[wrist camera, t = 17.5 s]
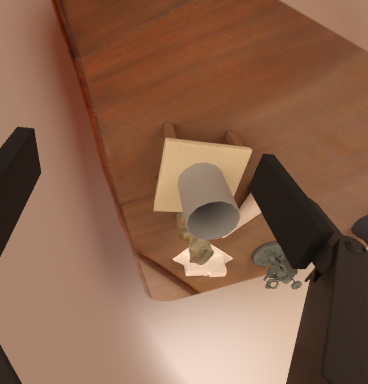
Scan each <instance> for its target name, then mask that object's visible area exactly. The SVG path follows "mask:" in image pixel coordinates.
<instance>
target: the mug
mask: <svg viewBox="0 0 368 384" xmlns="http://www.w3.org/2000/svg"><path fill="white" fill-rule="evenodd" d="M352 232H353V234H355V235H356V236H357V237H359V238H361V239H363V240H364V241H365V242H366V243H367V245H368V215H367V216H365V217H363V218H361V219H360V220H358V221H357V222H356V223H355V224H354V226H353V228H352Z"/></svg>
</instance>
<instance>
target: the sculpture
mask: <svg viewBox="0 0 368 384" xmlns="http://www.w3.org/2000/svg"><path fill="white" fill-rule="evenodd" d="M176 225H177V229H178V231H179V238H180V239H182V240H184V241H186V242H188V244H189V246H188V249H189V253H190V261H189V262H190V263H196V264H198V265H203V264H205V263H206V262H207V261H208V260H209V259H210V258H211V257H212V256H213V254H214V250H213V249H212V248H211V245H210V242H209V240H203V239H198V238H195V237H194V236H192V235H191V234H189V233H188V230H187V227H186V224H185V219H184V214H183V212H180V213H178V214H177V223H176Z"/></svg>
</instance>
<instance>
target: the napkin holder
mask: <svg viewBox="0 0 368 384" xmlns="http://www.w3.org/2000/svg"><path fill="white" fill-rule="evenodd" d="M210 245H211V248H212V249H213V250H214V254H213V256H212V257H211V258H210V259H209V260H208V261H207V262H206V263H205V264H203V265H198V264H196V263H190V262H189V261H190V253H189V249H188V248H187V249H186V250H184V251H183V252H182V253H180V254H179V255H178V256H176V257H175V258H173V260H175V261H177V262H178V263H180V264H182V265H184V268H185V274H186V276H196V275H204V276H207V275H209V277H220V276H225V275H226V273H227V270H226V266H225V263H227V262H228V261H230V260H232V259H233V258H232V257H231V256H229V255H228V254H226V253H224V252H223V251H221V250H220V249H218V248H216V247H215V246H213V245H212V244H210Z"/></svg>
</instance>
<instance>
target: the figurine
mask: <svg viewBox="0 0 368 384" xmlns="http://www.w3.org/2000/svg"><path fill="white" fill-rule="evenodd" d="M284 258H285V255H284V253H283V251H282V249H281V247H280V246H279V244H278V242H270V243H266V244H264V245H262V246H260V247H259V248H257V249H256V250H255V252H254V253H253V255H252V259H253V261H254V263H255V264H256V265H258V266H262V267H265V266H271V267H270V268H271V269H270V268H269V269H270V270H269V269H268V270H267V271H266V272H267V275H266V276H265V278H264V281H265V280H266V279H267V277H269V278H274V279H269V280H268V281H267V284H266V288H267V289H269V288H271V289H275V288H277V286H278V281H277V280H279V281H281V282H283V283H288V282H290V281H291V280H293V277H294V276H295V275H296V274H297V273H298V272H297V269H292V268H291V266H290V264H289V262H288V260H287V258H286V260H287V261H286V260H283V259H284ZM278 262H279V263H278ZM274 272H275V274H274ZM273 274H274V275H273ZM293 281H294V280H293ZM271 282H276V283H277V285H276V286H275V287H271V286H270V284H271ZM301 285H302V283H301V282H300V281H297V282H295V281H294V283H293V284H292V285H291V287H292V289H297V288H299V287H301Z"/></svg>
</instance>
